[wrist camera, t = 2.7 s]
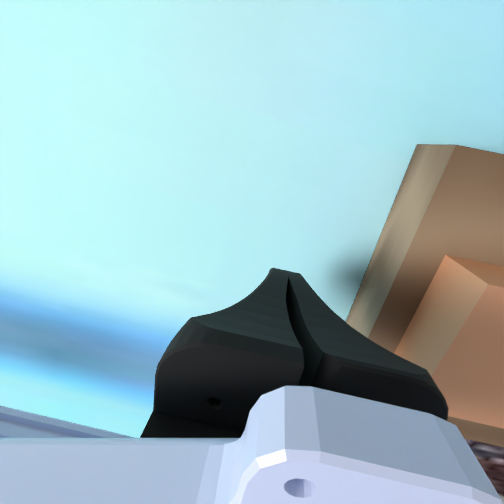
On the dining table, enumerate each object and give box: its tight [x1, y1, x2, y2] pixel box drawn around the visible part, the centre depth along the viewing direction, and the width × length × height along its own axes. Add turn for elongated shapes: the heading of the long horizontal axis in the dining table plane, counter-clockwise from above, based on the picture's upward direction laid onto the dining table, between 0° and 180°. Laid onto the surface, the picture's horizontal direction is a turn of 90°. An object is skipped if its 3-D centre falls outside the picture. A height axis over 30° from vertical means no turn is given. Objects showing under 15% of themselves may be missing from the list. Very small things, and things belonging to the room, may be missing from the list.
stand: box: [346, 144, 504, 447], centre depth 13 cm, size 14×12×3 cm
